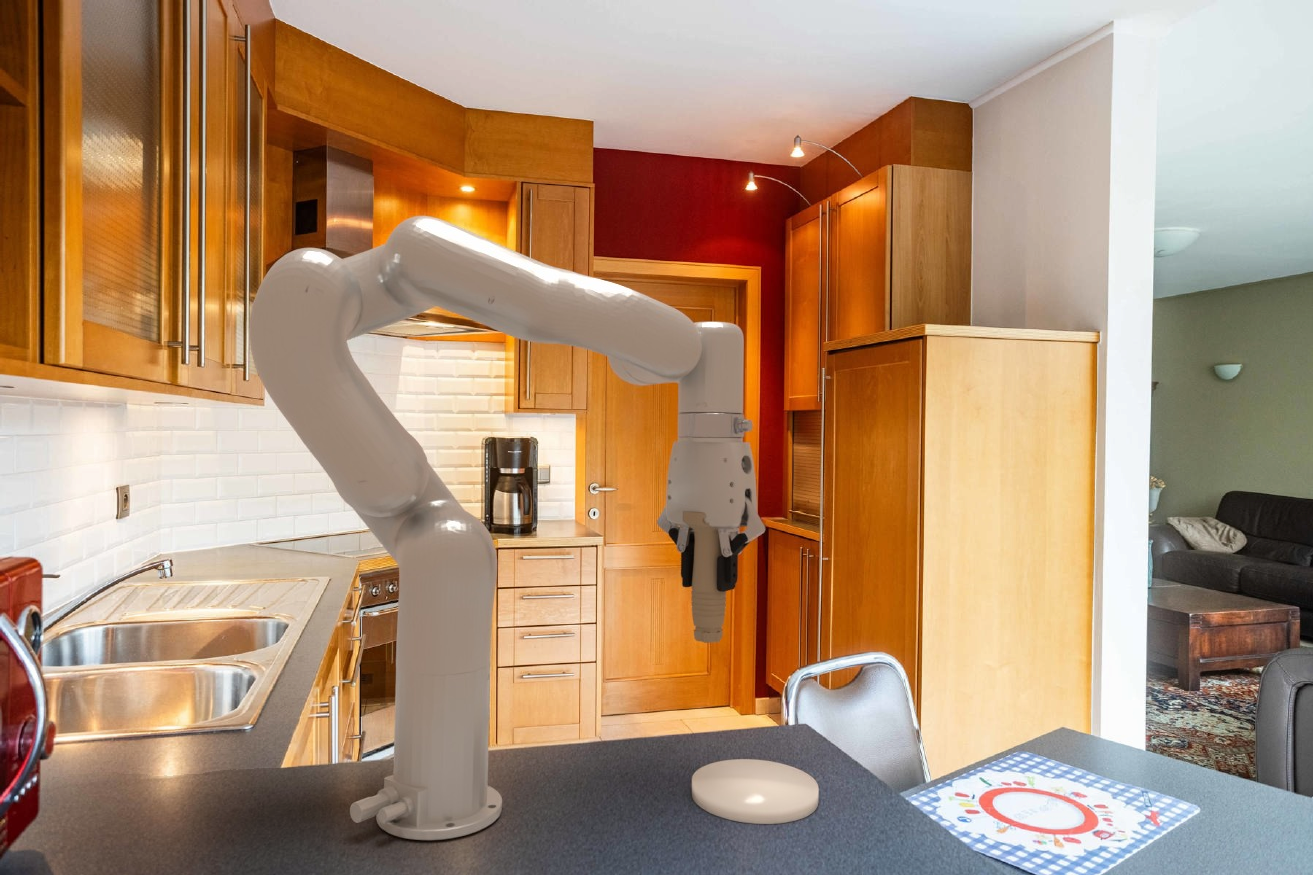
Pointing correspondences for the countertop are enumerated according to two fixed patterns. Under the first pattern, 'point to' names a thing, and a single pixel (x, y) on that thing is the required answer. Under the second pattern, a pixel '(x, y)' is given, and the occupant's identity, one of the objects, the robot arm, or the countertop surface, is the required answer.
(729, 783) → the plate
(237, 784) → the countertop surface
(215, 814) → the countertop surface
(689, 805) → the countertop surface
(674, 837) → the countertop surface
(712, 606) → the handle
